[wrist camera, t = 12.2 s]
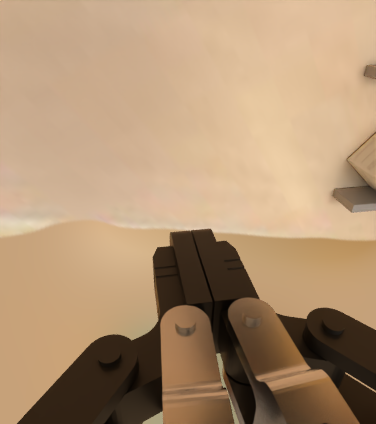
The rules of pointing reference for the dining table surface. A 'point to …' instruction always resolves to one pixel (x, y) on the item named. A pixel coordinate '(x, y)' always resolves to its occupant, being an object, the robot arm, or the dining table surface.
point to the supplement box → (366, 161)
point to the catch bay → (358, 196)
